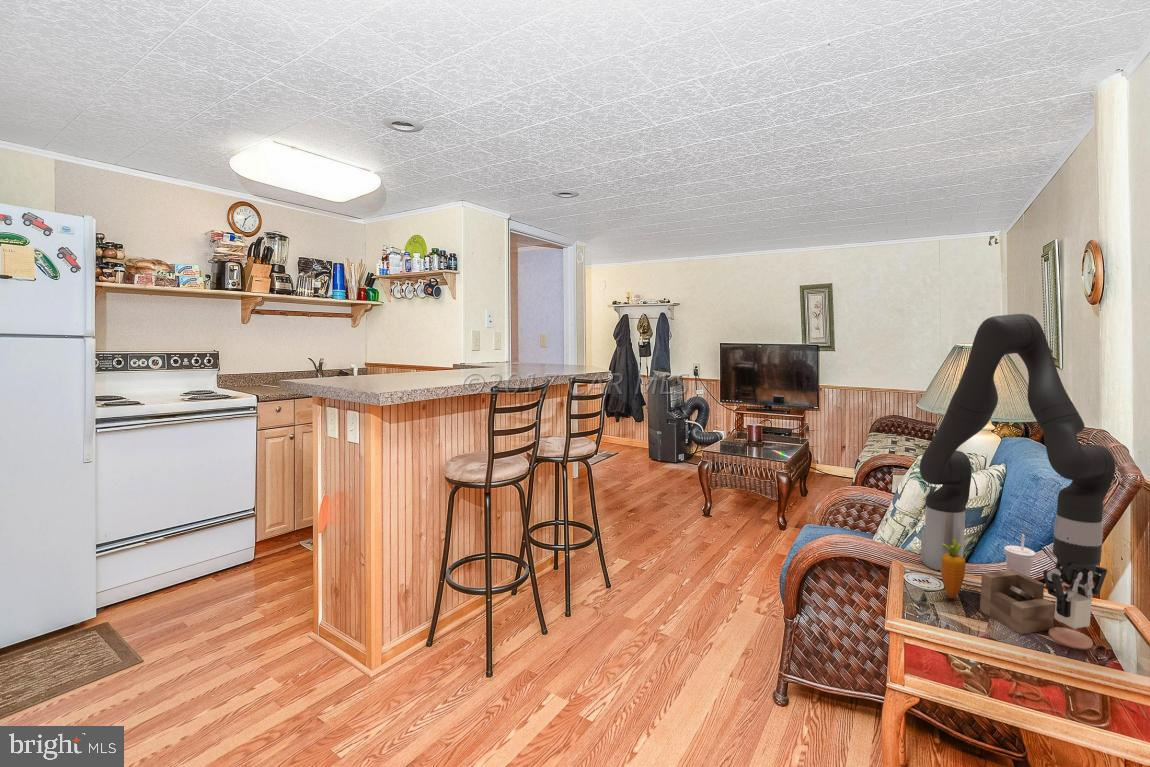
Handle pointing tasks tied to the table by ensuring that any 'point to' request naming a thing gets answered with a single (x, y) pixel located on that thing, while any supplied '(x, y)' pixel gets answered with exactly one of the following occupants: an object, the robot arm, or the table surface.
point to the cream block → (1076, 612)
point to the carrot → (952, 569)
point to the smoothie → (1019, 558)
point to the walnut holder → (1016, 601)
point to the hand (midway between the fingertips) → (1072, 613)
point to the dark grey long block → (1024, 594)
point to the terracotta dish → (1070, 638)
